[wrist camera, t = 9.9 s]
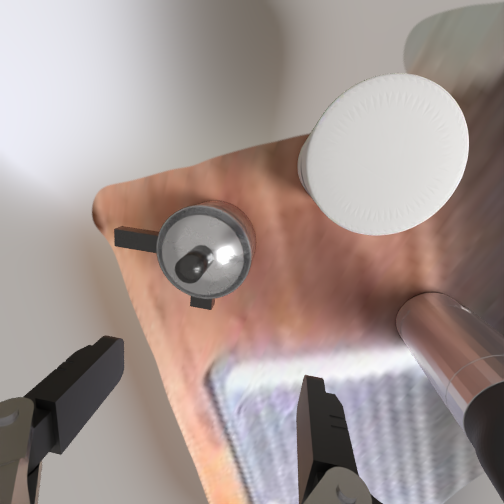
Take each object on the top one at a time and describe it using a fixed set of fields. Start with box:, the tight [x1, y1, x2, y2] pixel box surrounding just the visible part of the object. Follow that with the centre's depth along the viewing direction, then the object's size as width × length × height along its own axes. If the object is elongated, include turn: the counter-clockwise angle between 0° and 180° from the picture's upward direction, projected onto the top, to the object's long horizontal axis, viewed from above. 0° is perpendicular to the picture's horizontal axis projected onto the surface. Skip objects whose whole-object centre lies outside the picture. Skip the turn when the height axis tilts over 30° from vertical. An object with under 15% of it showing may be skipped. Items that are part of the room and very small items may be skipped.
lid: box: [162, 214, 244, 295], centre depth 33 cm, size 10×10×6 cm
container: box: [297, 73, 469, 235], centre depth 27 cm, size 10×10×20 cm
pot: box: [114, 201, 256, 310], centre depth 39 cm, size 19×14×7 cm
